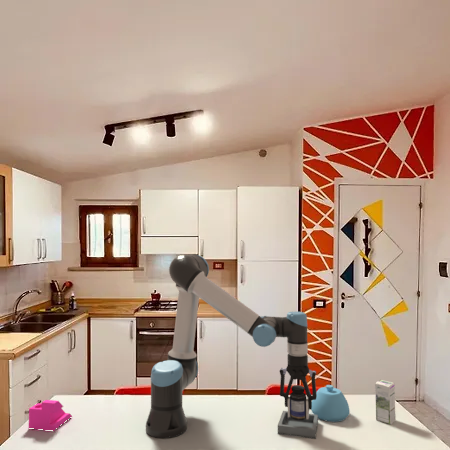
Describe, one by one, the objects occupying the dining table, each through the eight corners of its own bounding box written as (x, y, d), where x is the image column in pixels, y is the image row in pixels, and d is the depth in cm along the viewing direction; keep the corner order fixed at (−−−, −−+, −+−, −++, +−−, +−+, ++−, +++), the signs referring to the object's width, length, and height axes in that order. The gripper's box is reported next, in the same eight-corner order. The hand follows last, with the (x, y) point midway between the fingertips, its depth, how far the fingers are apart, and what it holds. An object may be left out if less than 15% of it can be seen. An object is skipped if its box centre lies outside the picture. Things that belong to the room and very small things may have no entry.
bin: (277, 433, 143) (277, 425, 143) (283, 418, 156) (282, 410, 156) (315, 438, 139) (315, 430, 139) (317, 422, 152) (317, 414, 152)
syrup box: (396, 420, 154) (395, 382, 155) (390, 425, 150) (389, 386, 151) (381, 415, 158) (380, 378, 159) (375, 420, 154) (374, 382, 155)
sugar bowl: (335, 427, 149) (335, 395, 149) (303, 414, 160) (303, 385, 161) (356, 415, 159) (356, 386, 159) (325, 404, 170) (324, 377, 170)
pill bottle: (295, 412, 152) (294, 383, 153) (309, 416, 148) (309, 386, 149) (287, 417, 147) (286, 387, 148) (301, 422, 143) (301, 391, 144)
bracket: (53, 432, 145) (54, 403, 145) (28, 429, 147) (29, 401, 147) (72, 418, 156) (72, 391, 157) (48, 416, 158) (49, 390, 159)
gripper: (270, 354, 148) (271, 417, 147) (323, 358, 143) (324, 424, 141) (274, 349, 155) (274, 409, 154) (324, 353, 150) (325, 415, 149)
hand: (298, 416), depth 148 cm, fingers closed on pill bottle, 6 cm apart
